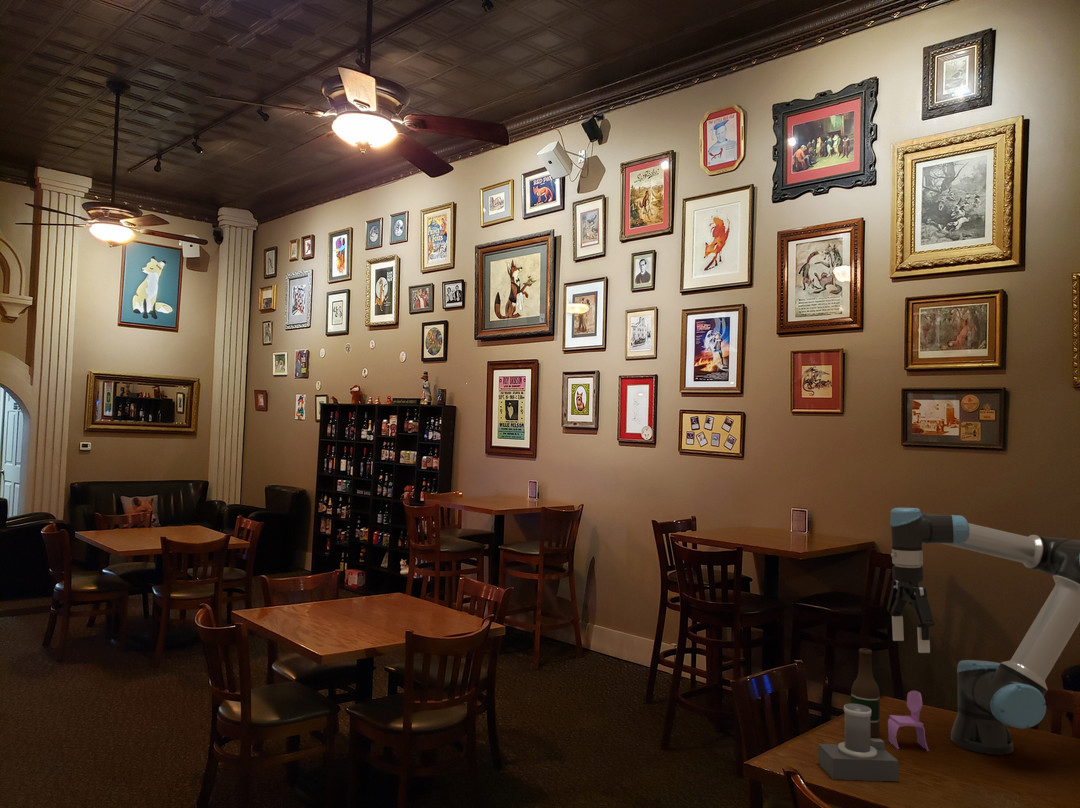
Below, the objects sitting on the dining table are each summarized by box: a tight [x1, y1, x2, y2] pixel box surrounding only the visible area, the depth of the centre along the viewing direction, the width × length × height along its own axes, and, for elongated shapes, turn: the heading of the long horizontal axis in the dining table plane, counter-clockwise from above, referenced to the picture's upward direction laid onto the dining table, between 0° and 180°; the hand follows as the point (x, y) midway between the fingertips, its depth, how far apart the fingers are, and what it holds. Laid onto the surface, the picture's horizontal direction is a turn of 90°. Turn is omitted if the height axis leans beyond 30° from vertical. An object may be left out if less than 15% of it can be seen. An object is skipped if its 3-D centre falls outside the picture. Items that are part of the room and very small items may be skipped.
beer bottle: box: [850, 647, 881, 739], centre depth 222 cm, size 8×8×24 cm
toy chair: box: [887, 690, 930, 752], centre depth 213 cm, size 8×9×15 cm
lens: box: [843, 702, 871, 753], centre depth 193 cm, size 6×6×10 cm
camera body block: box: [817, 738, 900, 782], centre depth 193 cm, size 16×10×7 cm, turn 90°
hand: (910, 646), depth 205 cm, fingers open, 13 cm apart
